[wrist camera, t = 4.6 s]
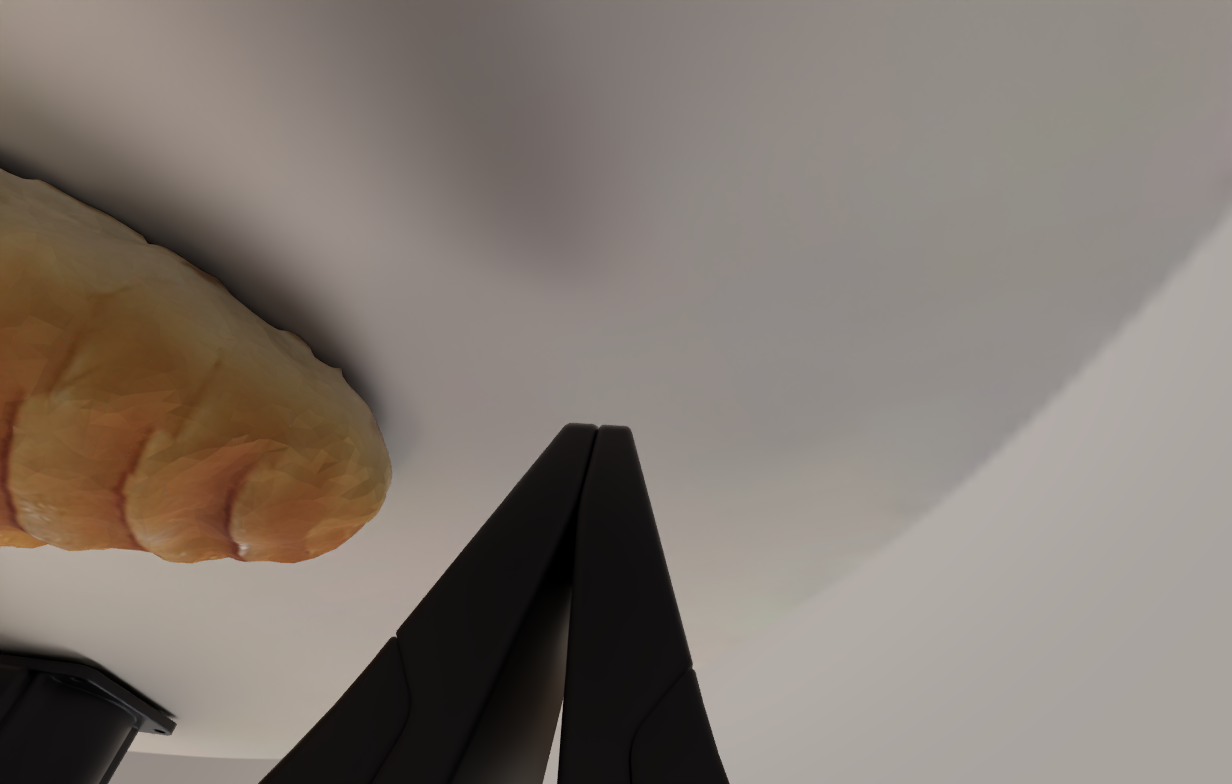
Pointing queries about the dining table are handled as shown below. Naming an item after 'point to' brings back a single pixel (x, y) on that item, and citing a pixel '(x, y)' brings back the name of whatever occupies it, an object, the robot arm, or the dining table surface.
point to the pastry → (162, 403)
